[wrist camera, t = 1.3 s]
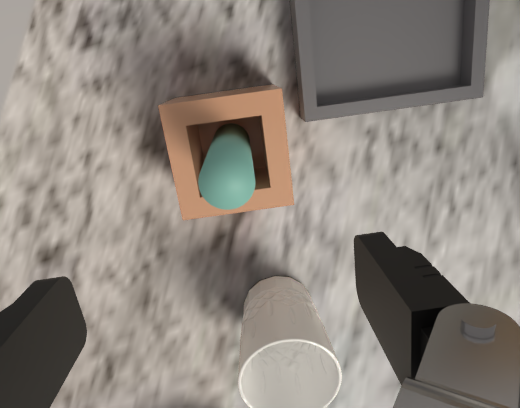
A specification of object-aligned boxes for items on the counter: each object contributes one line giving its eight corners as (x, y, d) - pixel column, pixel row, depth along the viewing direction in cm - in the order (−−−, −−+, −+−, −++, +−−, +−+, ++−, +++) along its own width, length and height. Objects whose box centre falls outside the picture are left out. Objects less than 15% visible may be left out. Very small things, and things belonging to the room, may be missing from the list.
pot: (272, 84, 31) (281, 88, 24) (283, 178, 34) (294, 204, 27) (175, 97, 31) (158, 105, 24) (194, 190, 34) (182, 220, 27)
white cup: (233, 274, 37) (231, 346, 27) (314, 265, 37) (340, 332, 27) (243, 341, 39) (244, 427, 30) (318, 331, 39) (343, 414, 30)
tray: (473, -73, 28) (495, -86, 26) (464, 95, 32) (483, 97, 30) (285, -47, 28) (289, -58, 25) (300, 118, 32) (305, 121, 30)
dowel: (247, 120, 31) (251, 151, 19) (252, 157, 32) (258, 205, 20) (210, 126, 31) (193, 159, 19) (216, 161, 32) (203, 213, 20)
